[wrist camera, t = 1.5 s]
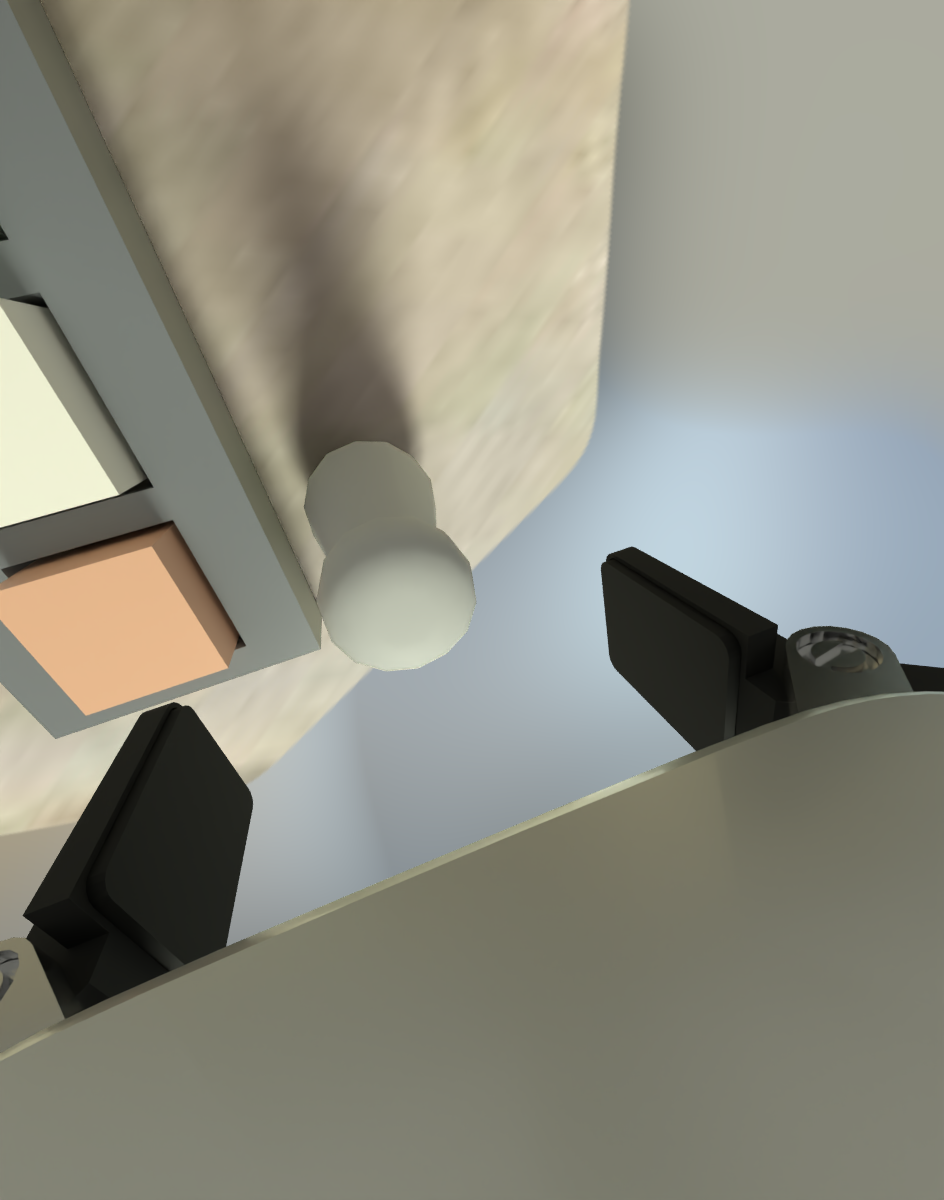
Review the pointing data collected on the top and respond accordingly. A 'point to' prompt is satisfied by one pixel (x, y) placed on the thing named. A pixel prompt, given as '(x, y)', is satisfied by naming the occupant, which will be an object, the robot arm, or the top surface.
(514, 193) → the top surface
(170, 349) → the keypad
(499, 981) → the robot arm
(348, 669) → the top surface
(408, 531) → the salt shaker
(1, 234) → the key sage
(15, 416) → the key cream
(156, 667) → the key terracotta
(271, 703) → the top surface
